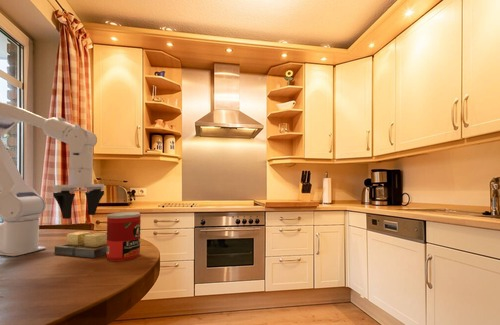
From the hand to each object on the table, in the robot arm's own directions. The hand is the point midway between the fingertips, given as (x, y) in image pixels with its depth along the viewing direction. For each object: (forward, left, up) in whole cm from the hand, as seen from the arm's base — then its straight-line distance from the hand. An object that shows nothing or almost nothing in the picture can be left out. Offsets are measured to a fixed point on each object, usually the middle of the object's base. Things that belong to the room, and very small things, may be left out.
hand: (79, 216), depth 74 cm
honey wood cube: (+8, -1, -10) cm, 12 cm away
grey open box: (+5, -1, -9) cm, 10 cm away
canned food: (+18, -2, -10) cm, 20 cm away
